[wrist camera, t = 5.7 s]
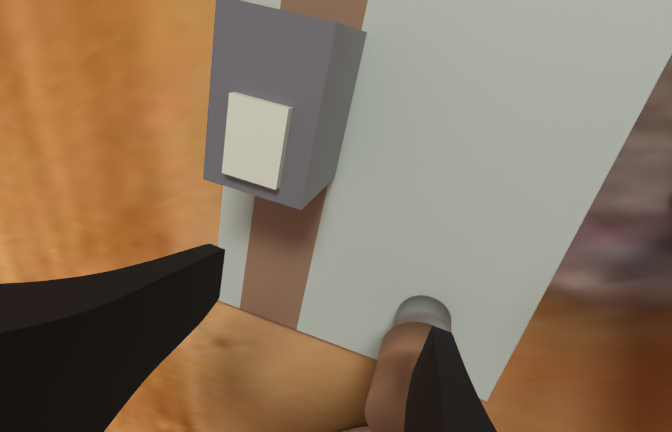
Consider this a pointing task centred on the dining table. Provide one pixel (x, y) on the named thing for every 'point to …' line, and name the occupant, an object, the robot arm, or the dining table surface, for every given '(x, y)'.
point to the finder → (278, 100)
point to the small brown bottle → (401, 361)
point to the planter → (359, 429)
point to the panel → (451, 169)
